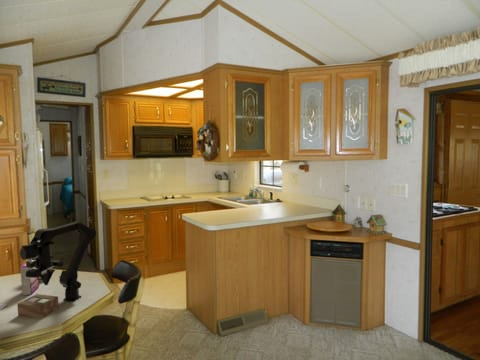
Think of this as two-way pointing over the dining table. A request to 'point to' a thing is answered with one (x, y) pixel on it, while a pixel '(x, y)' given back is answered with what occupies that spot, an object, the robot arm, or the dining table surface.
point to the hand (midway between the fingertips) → (46, 285)
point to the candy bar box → (28, 281)
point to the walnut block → (38, 306)
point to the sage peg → (43, 300)
